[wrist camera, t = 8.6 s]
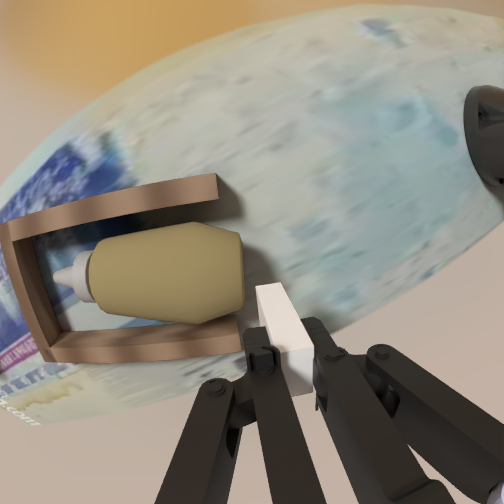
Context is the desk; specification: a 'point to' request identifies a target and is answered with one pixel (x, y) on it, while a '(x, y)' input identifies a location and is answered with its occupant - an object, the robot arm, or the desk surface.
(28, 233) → the bottle rest
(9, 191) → the desk surface
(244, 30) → the desk surface
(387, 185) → the desk surface
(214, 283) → the squeeze bottle
